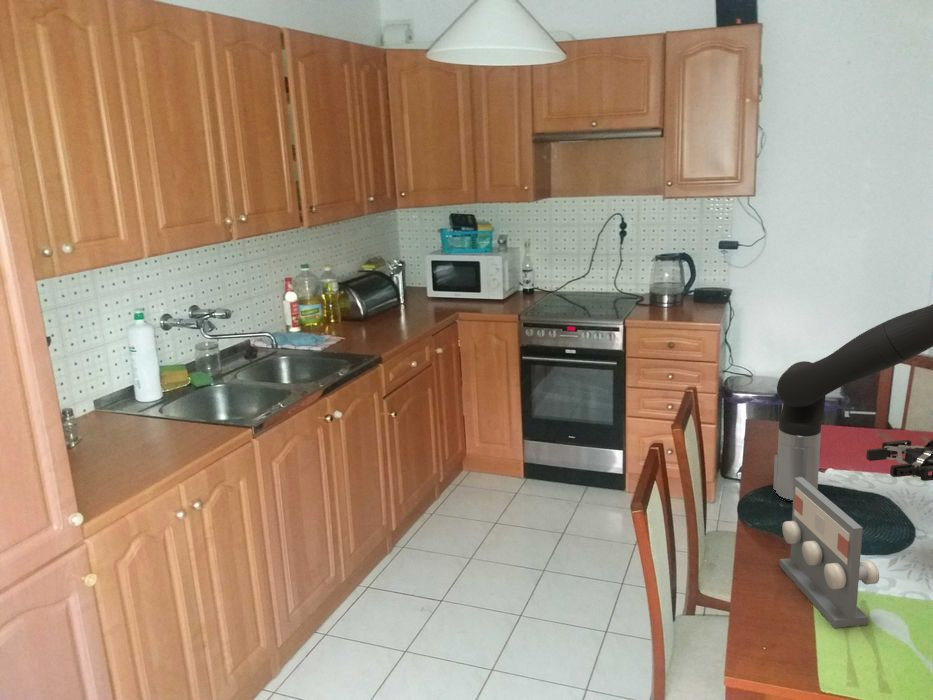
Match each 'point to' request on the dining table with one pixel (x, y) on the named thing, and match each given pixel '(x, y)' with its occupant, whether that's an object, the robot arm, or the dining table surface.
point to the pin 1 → (792, 532)
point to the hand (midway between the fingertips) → (879, 463)
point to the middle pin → (812, 552)
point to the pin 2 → (838, 575)
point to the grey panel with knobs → (826, 555)
